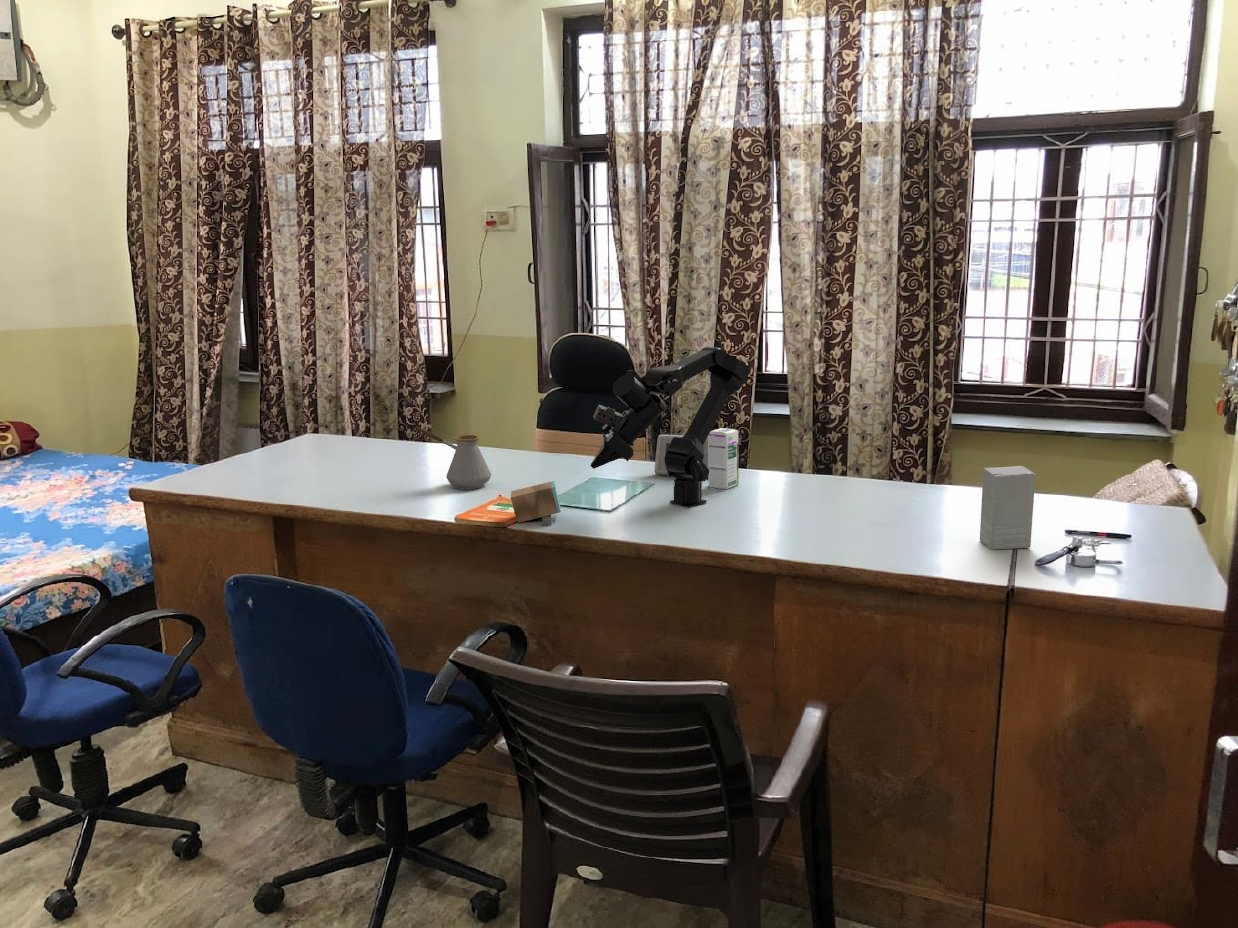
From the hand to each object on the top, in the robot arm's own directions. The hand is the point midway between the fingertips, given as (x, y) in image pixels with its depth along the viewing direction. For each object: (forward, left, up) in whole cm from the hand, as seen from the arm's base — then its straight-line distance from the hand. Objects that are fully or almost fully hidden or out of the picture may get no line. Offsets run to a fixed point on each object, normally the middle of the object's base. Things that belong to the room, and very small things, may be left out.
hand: (591, 467), depth 221 cm
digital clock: (-45, -12, -12) cm, 48 cm away
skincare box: (-41, +77, -12) cm, 88 cm away
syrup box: (-42, +3, -12) cm, 44 cm away
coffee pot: (+4, -50, -12) cm, 51 cm away
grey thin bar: (+8, -7, -12) cm, 16 cm away
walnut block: (+6, -5, -7) cm, 10 cm away
